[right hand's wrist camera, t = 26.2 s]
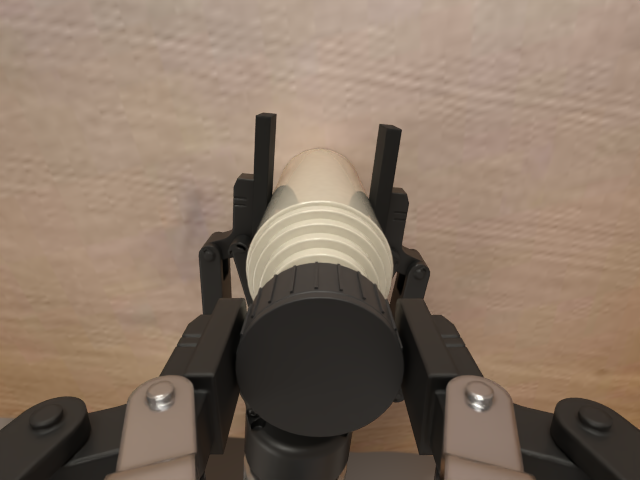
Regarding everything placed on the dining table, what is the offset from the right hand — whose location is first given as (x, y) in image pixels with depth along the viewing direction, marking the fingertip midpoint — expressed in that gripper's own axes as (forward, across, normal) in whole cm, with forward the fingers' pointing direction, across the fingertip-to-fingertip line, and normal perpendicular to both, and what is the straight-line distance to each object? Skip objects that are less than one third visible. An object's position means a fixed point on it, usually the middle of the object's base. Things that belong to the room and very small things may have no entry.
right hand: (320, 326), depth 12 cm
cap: (-2, 0, 0) cm, 2 cm away
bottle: (+18, 0, 0) cm, 18 cm away
